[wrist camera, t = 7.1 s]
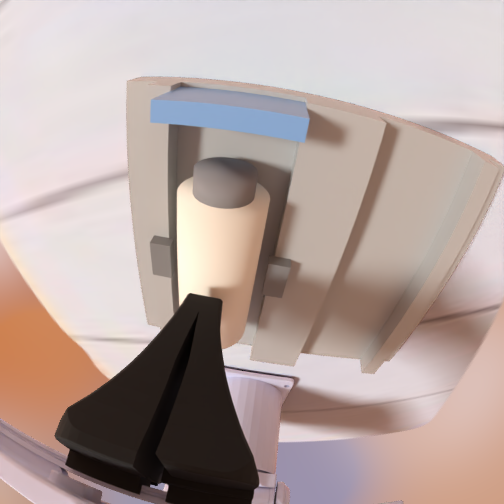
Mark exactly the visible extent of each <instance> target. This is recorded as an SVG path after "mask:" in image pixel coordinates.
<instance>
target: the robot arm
mask: <svg viewBox="0 0 504 504" xmlns="http://www.w3.org/2000/svg"><path fill="white" fill-rule="evenodd" d="M222 305H223V301H222V300H221V299H219V298H214V297H208V296H203V295H198V294H193V293H189V294H187V296H186V298H185V299H184V301H183V302H182V304H181V305H180V307H179V308H178V310H177V311H176V312H175V314H174V315H173V316H172V318H171V319H170V320H169V321H168V323H167V324H166V325H165V326H164V328H163V329H162V330H161V331H160V333H159V334H158V335H157V336H156V337H155V338H154V339H153V340H152V341H151V343H150V344H149V345H148V346H147V347H146V348H145V349H144V350H143V351H142V352H141V353H140V354H139V355H138V356H137V357H136V358H135V359H134V360H133V361H132V362H131V363H130V364H129V365H127V366H126V367H125V368H124V369H123V370H122V371H120V372H119V373H118V374H117V375H116V376H114V377H113V378H112V379H111V380H109V381H108V382H107V383H105V384H104V385H102V386H101V387H100V388H98V389H97V390H95V391H94V392H93V393H91V394H90V395H88V396H87V397H85V398H83V399H81V400H80V401H78V402H76V403H75V404H73V405H71V406H70V407H68V408H67V410H66V411H65V413H64V415H63V416H62V418H61V420H60V422H59V425H58V428H57V430H56V433H55V438H56V439H57V440H58V441H59V442H60V443H62V444H63V445H64V446H66V447H67V448H69V449H70V451H69V454H68V456H66V455H64V454H62V453H60V452H58V451H56V450H54V449H52V448H50V447H48V446H46V445H44V444H43V443H41V442H39V441H37V440H35V439H33V438H32V437H30V436H28V435H26V434H25V433H23V432H21V431H20V430H18V429H16V428H15V427H13V426H12V425H10V424H8V423H7V422H5V421H4V420H2V419H1V418H0V478H1V479H2V480H3V481H4V482H6V483H7V484H8V485H9V486H11V487H12V488H13V489H15V490H16V491H17V492H19V493H20V494H21V495H23V496H24V497H26V498H27V499H28V500H30V501H31V502H33V503H34V504H109V503H107V502H104V501H101V496H102V491H100V490H97V489H95V488H93V487H90V486H88V485H86V484H83V483H81V482H79V481H76V480H74V479H72V478H70V477H69V476H68V473H67V471H69V472H71V473H73V474H75V475H78V476H80V477H82V478H84V479H87V480H89V481H92V482H94V483H96V484H99V485H101V486H104V487H106V488H109V489H112V490H115V491H117V492H120V493H123V494H126V495H129V496H132V497H135V498H138V499H141V500H144V501H148V502H151V503H155V504H289V498H290V491H289V488H288V487H287V486H286V485H285V483H284V482H277V487H276V492H275V485H276V474H275V471H276V460H277V450H278V439H279V428H280V416H281V406H282V404H283V403H284V401H285V399H286V397H287V395H288V394H289V392H290V390H291V388H292V386H293V385H294V380H293V379H292V378H287V377H279V376H272V375H265V374H258V373H252V372H246V371H240V370H234V369H228V368H225V367H224V361H223V355H222V346H221V334H220V327H221V316H222ZM66 470H67V471H66ZM159 483H165V486H164V489H163V491H162V490H158V489H155V488H151V487H150V484H151V485H155V486H158V484H159ZM274 496H275V498H274ZM381 504H403V501H395V502H388V503H381Z"/></svg>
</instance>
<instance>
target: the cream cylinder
mask: <svg viewBox="0 0 504 504" xmlns="http://www.w3.org/2000/svg"><path fill="white" fill-rule="evenodd" d="M257 179H258V170H257V168H256V167H255V166H253V165H252V164H250V163H248V162H246V161H243V160H240V159H235V158H229V157H212V158H207V159H203V160H201V161H199V162H197V163H196V164H195V165H194V172H193V177H191V178H189V179H187V180H185V181H184V182H182V183H181V184H180V186H179V187H178V190H177V259H178V287H179V307H180V305H181V304H182V302H183V301H184V299H185V298H186V296H187V294H189V293H193V294H198V295H203V296H208V297H214V298H219V299H221V300H222V301H223V305H222V316H221V327H220V334H221V346H222V349H225V348H228V347H230V346H232V345H234V344H235V343H237V342H238V341H239V340H240V339H241V337H242V336H243V334H244V331H245V327H246V322H247V317H248V312H249V307H250V302H251V296H252V291H253V286H254V281H255V276H256V271H257V266H258V261H259V255H260V250H261V245H262V240H263V235H264V229H265V224H266V219H267V214H268V209H269V203H270V195H269V193H268V192H267V190H266V189H265V188H264V187H263V186H262V185H260V184H259V183H257Z"/></svg>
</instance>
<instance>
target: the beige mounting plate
mask: <svg viewBox="0 0 504 504" xmlns="http://www.w3.org/2000/svg"><path fill="white" fill-rule="evenodd" d="M126 120H127V156H128V175H129V189H130V202H131V212H132V222H133V232H134V240H135V248H136V256H137V263H138V270H139V276H140V283H141V289H142V295H143V301H144V306H145V312H146V317H147V322H148V324H149V325H153V326H157V327H160V329H161V330H162V329H163V328H164V326H165V325H166V324H167V323H168V321H169V320H170V319H171V318H172V316H173V315H174V314H175V312H176V311H177V310H178V308H179V287H178V259H177V190H178V187H179V186H180V184H181V183H182V182H184V181H185V180H187V179H189V178H191V177H193V172H194V165H195V164H196V163H197V162H199V161H201V160H203V159H207V158H212V157H229V158H235V159H240V160H243V161H246V162H248V163H250V164H252V165H253V166H255V167H256V168H257V170H258V179H257V183H259V184H260V185H262V186H263V187H264V188H265V189H266V190H267V192H268V193H269V195H270V203H269V209H268V214H267V219H266V224H265V229H264V235H263V240H262V245H261V250H260V255H259V261H258V266H257V271H256V276H255V281H254V286H253V291H252V296H251V302H250V307H249V312H248V317H247V322H246V327H245V331H244V334H243V336H242V337H241V339H240V340H239V341H238V342H237V343H239V344H245V345H251V346H252V349H251V356H250V360H253V361H259V362H266V363H273V364H280V365H287V366H294V365H295V363H296V361H297V359H298V357H299V355H300V353H306V354H314V355H323V356H332V357H341V358H352V359H360V362H361V371H362V373H370V374H374V373H375V372H376V371H377V370H378V368H379V367H380V366H381V365H382V364H383V362H384V361H390V360H391V359H392V357H393V356H394V355H395V354H396V353H397V351H398V350H399V349H400V348H401V346H402V345H403V344H404V342H405V341H406V340H407V339H408V337H409V336H410V335H411V333H412V332H413V331H414V329H415V328H416V327H417V325H418V324H419V323H420V321H421V320H422V318H423V317H424V316H425V314H426V313H427V311H428V310H429V308H430V307H431V306H432V304H433V303H434V301H435V300H436V298H437V297H438V295H439V294H440V292H441V291H442V289H443V288H444V286H445V285H446V283H447V281H448V280H449V278H450V277H451V275H452V273H453V272H454V270H455V268H456V267H457V265H458V263H459V262H460V260H461V258H462V257H463V255H464V253H465V251H466V250H467V248H468V246H469V244H470V242H471V241H472V239H473V237H474V235H475V233H476V231H477V229H478V227H479V225H480V224H481V222H482V220H483V218H484V216H485V214H486V211H487V209H488V207H489V205H490V203H491V201H492V199H493V197H494V194H495V192H496V190H497V188H498V185H499V183H500V181H501V178H502V176H503V173H504V166H503V165H502V164H501V163H500V162H498V161H497V160H496V159H495V158H493V157H492V156H490V155H488V154H486V153H484V152H482V151H480V150H478V149H476V148H474V147H472V146H469V145H467V144H465V143H463V142H461V141H458V140H456V139H454V138H451V137H449V136H446V135H444V134H441V133H439V132H436V131H434V130H431V129H429V128H426V127H423V126H421V125H418V124H415V123H412V122H410V121H407V120H404V119H401V118H398V117H395V116H392V115H389V114H386V113H382V112H379V111H376V110H372V109H369V108H365V107H362V106H358V105H355V104H351V103H347V102H343V101H339V100H335V99H331V98H327V97H322V96H318V95H313V94H308V93H303V92H298V91H293V90H288V89H282V88H276V87H270V86H263V85H257V84H249V83H241V82H233V81H223V80H212V79H199V78H181V77H139V78H136V79H132V80H129V81H127V99H126Z"/></svg>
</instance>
